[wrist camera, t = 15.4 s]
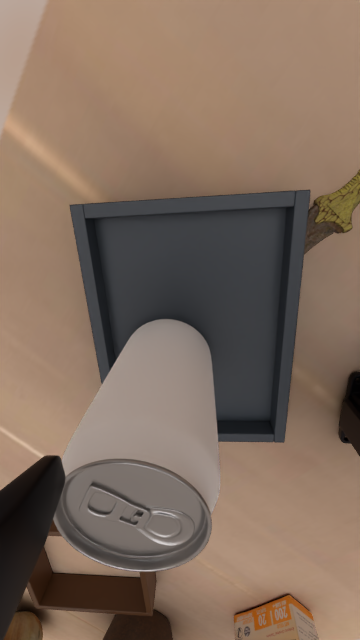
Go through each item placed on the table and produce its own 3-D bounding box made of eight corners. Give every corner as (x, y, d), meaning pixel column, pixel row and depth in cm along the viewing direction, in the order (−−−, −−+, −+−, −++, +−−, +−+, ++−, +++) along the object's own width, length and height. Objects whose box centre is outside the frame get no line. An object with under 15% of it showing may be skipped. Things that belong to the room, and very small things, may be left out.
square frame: (145, 503, 27) (139, 535, 25) (156, 581, 32) (152, 616, 29) (21, 499, 28) (2, 529, 26) (49, 575, 33) (35, 608, 30)
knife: (280, 316, 19) (239, 262, 18) (276, 311, 20) (236, 259, 19) (501, 165, 15) (472, 80, 14) (485, 167, 16) (456, 86, 15)
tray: (298, 192, 17) (311, 189, 15) (277, 423, 23) (284, 442, 21) (83, 206, 18) (69, 204, 16) (118, 422, 24) (111, 440, 22)
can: (188, 404, 22) (176, 598, 11) (114, 372, 21) (20, 543, 10) (226, 339, 20) (261, 499, 9) (144, 301, 19) (67, 420, 8)
